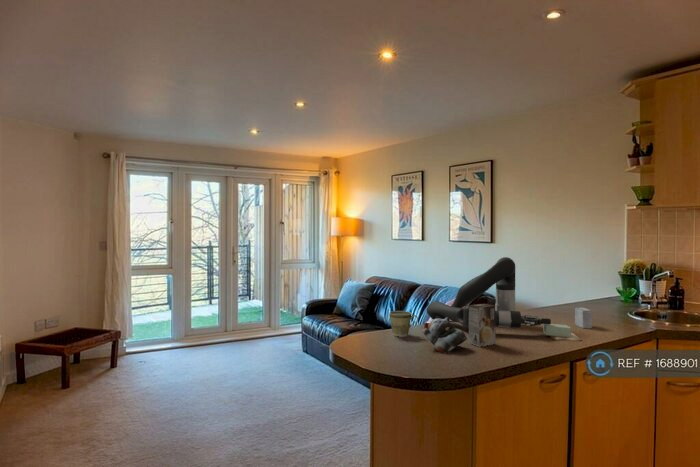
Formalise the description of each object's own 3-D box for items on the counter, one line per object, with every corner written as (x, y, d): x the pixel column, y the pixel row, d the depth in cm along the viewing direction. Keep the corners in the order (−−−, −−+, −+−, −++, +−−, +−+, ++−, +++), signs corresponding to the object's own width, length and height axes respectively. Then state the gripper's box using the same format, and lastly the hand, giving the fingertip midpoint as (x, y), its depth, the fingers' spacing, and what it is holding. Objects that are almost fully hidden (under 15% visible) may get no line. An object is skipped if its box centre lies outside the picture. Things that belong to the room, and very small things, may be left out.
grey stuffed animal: (443, 354, 163) (426, 320, 166) (429, 359, 173) (414, 326, 177) (473, 339, 169) (456, 306, 172) (458, 344, 179) (442, 313, 183)
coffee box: (484, 341, 184) (484, 303, 183) (496, 344, 178) (496, 305, 178) (468, 343, 179) (468, 304, 179) (479, 347, 174) (479, 307, 173)
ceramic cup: (386, 336, 191) (386, 314, 191) (392, 331, 200) (392, 310, 200) (415, 339, 186) (415, 316, 186) (420, 334, 196) (420, 312, 196)
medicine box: (592, 328, 207) (592, 310, 207) (582, 328, 207) (582, 310, 207) (583, 325, 215) (583, 307, 215) (574, 324, 215) (574, 307, 215)
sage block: (546, 325, 189) (571, 328, 187) (543, 322, 195) (567, 325, 193) (545, 334, 189) (570, 337, 187) (542, 331, 195) (566, 334, 193)
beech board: (553, 339, 186) (553, 337, 186) (546, 333, 197) (546, 330, 197) (581, 340, 183) (581, 338, 183) (572, 334, 195) (572, 332, 195)
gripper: (507, 324, 202) (547, 326, 198) (510, 330, 189) (553, 333, 185) (507, 308, 202) (547, 310, 198) (511, 313, 189) (554, 315, 185)
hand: (550, 321), depth 191 cm, fingers closed
